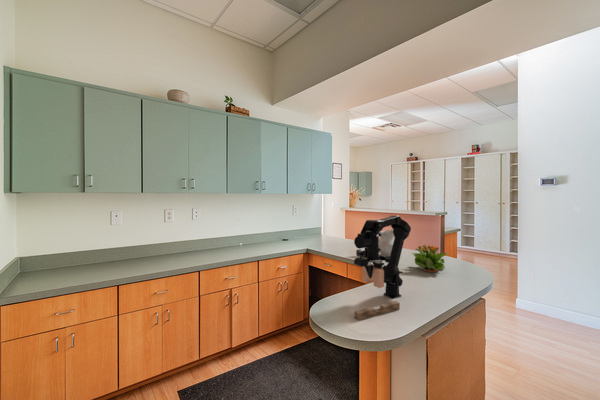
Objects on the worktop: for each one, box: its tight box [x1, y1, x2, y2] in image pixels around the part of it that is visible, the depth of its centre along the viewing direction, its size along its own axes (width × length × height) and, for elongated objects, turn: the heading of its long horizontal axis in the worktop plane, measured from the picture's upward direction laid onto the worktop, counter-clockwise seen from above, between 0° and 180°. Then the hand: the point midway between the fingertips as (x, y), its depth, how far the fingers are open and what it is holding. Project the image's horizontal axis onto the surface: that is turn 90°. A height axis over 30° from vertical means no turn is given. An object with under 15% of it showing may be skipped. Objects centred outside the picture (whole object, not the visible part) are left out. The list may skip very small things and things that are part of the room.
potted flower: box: [412, 244, 449, 273], centre depth 189 cm, size 25×24×18 cm
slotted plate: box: [361, 266, 385, 289], centre depth 134 cm, size 3×12×8 cm, turn 27°
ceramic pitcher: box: [379, 229, 395, 256], centre depth 234 cm, size 22×20×25 cm
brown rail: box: [353, 300, 400, 321], centre depth 122 cm, size 24×2×3 cm, turn 117°
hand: (372, 277), depth 134 cm, fingers closed on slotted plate, 3 cm apart
